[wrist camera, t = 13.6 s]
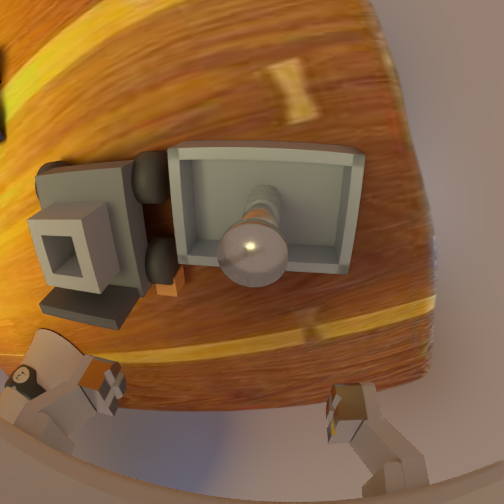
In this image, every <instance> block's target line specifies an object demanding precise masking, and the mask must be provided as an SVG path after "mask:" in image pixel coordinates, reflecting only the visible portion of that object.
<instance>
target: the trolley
mask: <svg viewBox="0 0 504 504" xmlns="http://www.w3.org/2000/svg"><path fill="white" fill-rule="evenodd" d="M35 180H36V181H35V189H36V194H37V196H38V199H39V200H40V205H41V211H40V212H38V213H36V214H35V215H33V216H32V217H30V218H29V219H27V222H28V225H29V229H30V233H31V236H32V240H33V243H34V247H35V250H36V253H37V256H38V259H39V262H40V265H41V268H42V271H43V274H44V277H45V280H46V282H47V285H50V286H55V288H54V289H53V290H52V291H51V292H50V293H49V294H48V295H47V296H46V297H45V298H44V299H43V300H42V301H41V302H40V303H39V305H40V307H41V310H42V312H43V313H44V314H48V315H52V316H56V317H60V318H64V319H68V320H72V321H77V322H81V323H85V324H90V325H94V326H99V327H104V328H109V329H114V330H119V329H120V327H121V326H122V324H123V323H124V321H125V319H126V318H127V316H128V315H129V313H130V312H131V310H132V308H133V307H134V305H135V304H136V302H137V301H138V299H139V298H140V297H144V296H145V295H146V293H147V291H148V290H149V288H150V287H151V285H152V284H156V289H157V294H158V295H167V296H176V297H177V296H178V294H179V293H180V291H181V289H182V287H183V285H184V283H185V277H184V269H183V264H178V257H177V249H176V240H175V238H174V237H153V238H152V239H151V240H150V242H149V244H148V242H147V236H146V229H145V223H144V216H143V208H142V204H163V203H165V202H166V200H167V199H168V197H169V194H170V180H169V167H168V154H167V153H166V152H165V151H147V152H141V153H139V154H138V156H137V157H136V159H135V160H124V161H112V162H101V163H91V164H81V165H73V166H70V165H69V164H68V163H67V162H65V161H55V162H49V163H46V164H44V165H43V166H42V167H41V168H40V169H39V171H38V173H37V176H35Z"/></svg>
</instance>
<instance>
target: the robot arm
mask: <svg viewBox="0 0 504 504" xmlns="http://www.w3.org/2000/svg"><path fill="white" fill-rule="evenodd" d="M120 369H121V367H120V365H119V363H118V362H115V361H111V360H107V359H103V358H99V357H95V356H91V355H88V354H86V355H82V354H81V353H80V352H79V351H78V350H77V349H76V348H75V347H74V346H73V345H72V344H71V343H69V342H68V341H67V340H65V339H64V338H63V337H61V336H59V335H58V334H56V333H54V332H52V331H49V330H46V329H39V330H37V331H36V333H35V335H34V338H33V340H32V343H31V345H30V347H29V349H28V351H27V353H26V354H25V356H24V358H23V360H22V362H21V364H20V366H19V367H18V368H17V369H16V370H15V371H14V372H13V373H12V374H11V376H10V377H9V379H8V380H7V382H6V383H5V389H4V390H3V392H2V393H1V395H0V504H504V460H500V461H497V462H495V463H492V464H490V465H487V466H485V467H482V468H480V469H477V470H474V471H472V472H469V473H466V474H463V475H460V476H457V477H454V478H451V479H448V480H445V481H442V482H438V483H434V484H431V485H429V479H428V474H427V469H426V464H425V459H424V455H423V454H422V453H421V452H420V451H419V450H418V449H417V448H416V447H415V446H413V445H412V444H411V443H410V442H409V441H408V440H407V439H406V438H405V437H404V436H403V435H402V434H401V433H400V432H399V431H398V430H397V429H396V428H395V427H394V426H393V425H392V424H391V423H390V422H389V421H388V420H387V419H386V418H382V416H381V411H380V407H379V402H378V397H377V393H376V388H375V385H374V383H372V382H371V383H344V384H333V385H332V388H331V395H330V396H329V397H328V400H327V405H326V419H327V420H328V421H329V422H330V423H329V426H328V428H327V435H328V444H332V443H350V445H351V447H352V448H353V449H354V451H355V452H356V453H357V455H358V456H359V457H360V459H361V460H362V461H363V462H364V464H365V465H366V466H367V468H368V469H369V470H370V472H371V473H372V474H373V477H372V478H371V479H370V480H368V481H367V483H365V484H364V485H363V486H362V495H363V498H358V499H348V500H339V501H323V502H266V501H265V502H264V501H250V500H240V499H239V500H238V499H230V498H222V497H214V496H208V495H202V494H196V493H191V492H186V491H181V490H176V489H172V488H167V487H163V486H159V485H155V484H151V483H147V482H144V481H140V480H137V479H133V478H130V477H127V476H124V475H121V474H118V473H115V472H112V471H109V470H106V469H104V468H101V467H98V466H96V465H93V464H91V463H88V462H86V461H83V460H81V459H79V458H76V457H74V456H72V452H73V450H74V448H75V445H74V443H73V442H72V441H71V440H70V439H69V438H68V437H67V436H69V435H70V434H71V433H73V432H74V431H75V430H76V429H77V428H79V427H80V426H81V425H83V424H84V423H85V422H86V421H88V420H89V419H90V418H91V417H93V416H94V415H95V414H96V413H97V412H99V413H102V414H106V415H110V416H113V417H114V416H115V413H116V411H117V409H118V407H119V405H120V404H119V401H118V399H119V398H121V397H123V396H124V393H125V391H126V385H127V382H126V378H125V375H124V374H123V373H122V372H120Z"/></svg>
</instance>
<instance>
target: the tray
mask: <svg viewBox="0 0 504 504" xmlns="http://www.w3.org/2000/svg"><path fill="white" fill-rule="evenodd" d="M167 152H168V167H169V180H170V192H171V203H172V213H173V223H174V232H175V240H176V249H177V257H178V264H188V265H202V266H216V267H220V266H219V263H218V259H217V249H218V245H219V243H220V240H221V238H222V236H223V234H224V232H225V231H226V230H227V229H228V228H229V227H230V226H231V225H232V224H234V223H235V222H237V221H240V219H241V217H242V214H243V211H244V209H245V206H246V203H247V201H248V198H249V196H250V193H251V191H252V190H253V189H254V188H255V187H257V186H259V185H263V184H266V185H271V186H273V187H274V188H276V189H277V190H278V192H279V193H280V196H281V208H280V223H279V230H281V232H282V233H283V234H284V236H285V238H286V240H287V244H288V264H287V268H286V270H285V271H295V272H313V273H332V274H348V270H349V265H350V260H351V254H352V249H353V243H354V237H355V231H356V224H357V218H358V211H359V204H360V197H361V189H362V181H363V172H364V163H365V155H364V154H363V153H361V152H360V151H359V150H357V149H356V148H354V147H350V146H340V145H330V144H318V143H304V142H287V141H261V140H200V141H183V142H181V143H179V144H177V145H174V146H172V147H170V148H168V149H167Z"/></svg>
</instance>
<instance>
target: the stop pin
mask: <svg viewBox="0 0 504 504" xmlns="http://www.w3.org/2000/svg"><path fill="white" fill-rule="evenodd" d="M280 208H281V196H280V193H279V192H278V190H277V189H276V188H274V187H273V186H271V185H266V184H263V185H259V186H257V187H255V188H254V189H253V190H252V191H251V193H250V196H249V198H248V201H247V203H246V206H245V209H244V211H243V214H242V217H241V219H240V221H237V222H235V223H234V224H232V225H231V226H230V227H229V228H228V229H227V230H226V231H225V232H224V234H223V236H222V238H221V240H220V243H219V245H218V249H217V259H218V263H219V266H220V268H221V270H222V271H223V273H224V274H225V275H226V276H227V277H228V278H229V279H231V280H232V281H234V282H235V283H237V284H240V285H243V286H246V287H263V286H267V285H269V284H272V283H273V282H275V281H277V280H278V279H279V278H280V277H281V276H282V275H283V273H284V272H285V270H286V268H287V264H288V244H287V240H286V238H285V236H284V234H283V233H282V232H281V230H279V223H280Z"/></svg>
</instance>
